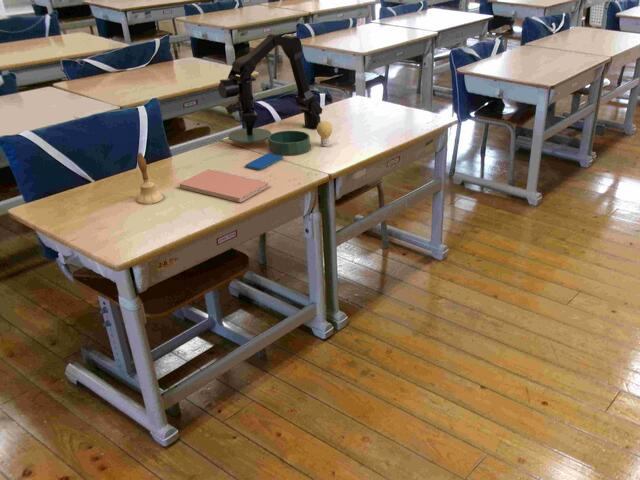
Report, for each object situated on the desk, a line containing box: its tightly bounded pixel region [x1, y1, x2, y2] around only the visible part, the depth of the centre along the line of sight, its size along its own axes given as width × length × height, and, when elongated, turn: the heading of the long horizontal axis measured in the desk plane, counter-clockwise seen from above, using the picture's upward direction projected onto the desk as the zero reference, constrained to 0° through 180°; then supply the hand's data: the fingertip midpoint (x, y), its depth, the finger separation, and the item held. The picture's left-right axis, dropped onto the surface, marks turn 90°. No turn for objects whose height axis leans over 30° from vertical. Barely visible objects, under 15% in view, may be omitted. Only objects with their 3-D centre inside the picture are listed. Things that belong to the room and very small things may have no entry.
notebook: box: [177, 169, 270, 203], centre depth 222 cm, size 27×17×2 cm, turn 63°
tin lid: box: [227, 125, 272, 144], centre depth 260 cm, size 17×17×6 cm
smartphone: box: [245, 152, 284, 171], centre depth 243 cm, size 7×1×15 cm
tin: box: [267, 130, 311, 157], centre depth 256 cm, size 16×16×5 cm
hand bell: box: [136, 152, 164, 205], centre depth 209 cm, size 8×8×16 cm
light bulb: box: [316, 120, 334, 147], centre depth 259 cm, size 6×6×10 cm
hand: (249, 132), depth 260 cm, fingers closed on tin lid, 2 cm apart
